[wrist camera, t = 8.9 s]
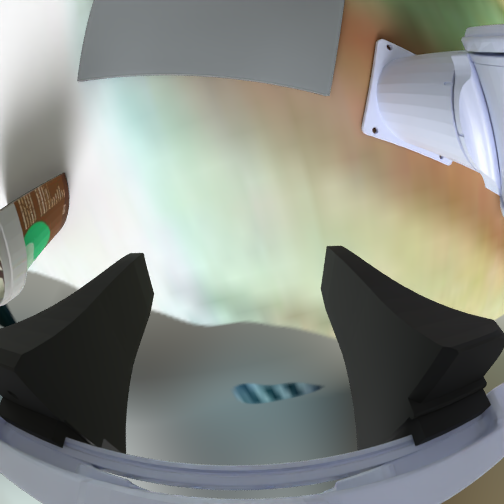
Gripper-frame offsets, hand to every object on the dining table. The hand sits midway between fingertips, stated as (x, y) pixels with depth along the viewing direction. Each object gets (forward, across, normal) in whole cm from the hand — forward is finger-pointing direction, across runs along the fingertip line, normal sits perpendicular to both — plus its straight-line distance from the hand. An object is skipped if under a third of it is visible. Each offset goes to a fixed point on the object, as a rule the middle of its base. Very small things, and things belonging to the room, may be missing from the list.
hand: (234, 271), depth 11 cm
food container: (+11, +18, +1) cm, 21 cm away
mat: (+10, 0, -20) cm, 23 cm away
